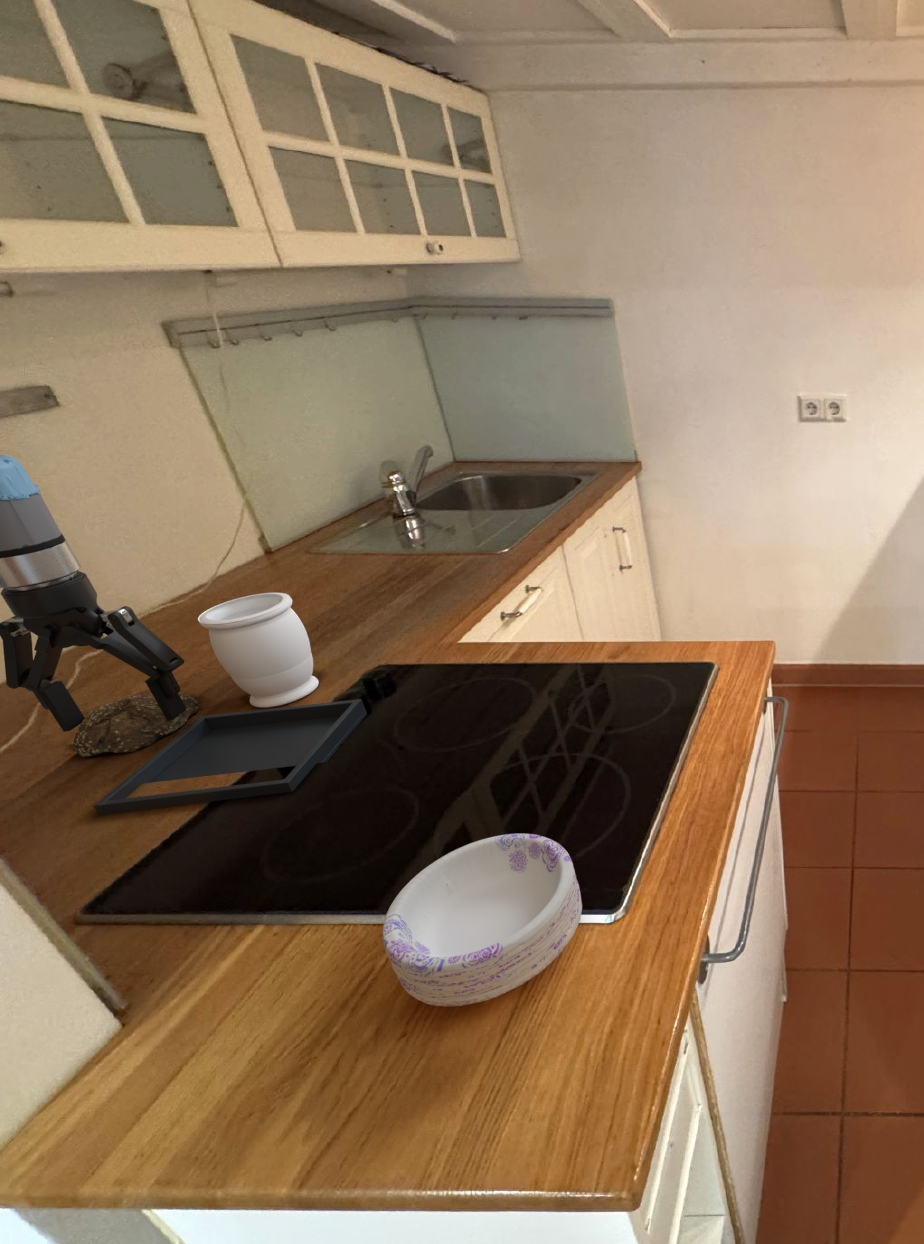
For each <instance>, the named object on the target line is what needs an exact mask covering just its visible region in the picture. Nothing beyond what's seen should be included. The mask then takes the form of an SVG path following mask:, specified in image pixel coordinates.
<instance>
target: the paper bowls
mask: <svg viewBox="0 0 924 1244" xmlns="http://www.w3.org/2000/svg"><path fill="white" fill-rule="evenodd" d="M582 911H583V901H582V895H581V890H580V884H579V881H578V879H577V874H576V871H575V867H574V863H573V861H572V858H571V856H570V854H569V853H568V851H567V850H566V848H564V847H563V845H561V844H560V843H559V842H557V841H555V840H553V839H552V838H548V837H546V836H543V835H540V834H535V833H506V834H502V835H501V834H500V835H495V836H491V837H486V838H482V839H479V840H476V841H473V842H470V843H468V844H465V845H463V846H461V847H458V848H456V849H454V850H453V851H449V852H448V853H447V854H445V855H443V856H441V857H440V858H438V859H436V860H435V861H433V862H432V863H431V864H429V865H427V866H426V867H425V868H423V869H422V870H420V872H419V873H417V874H416V875H415V876H414V877H413V878H411V879H410V880H409V882H408V883H407V884H406V885H404V887H403V888H402V889H401V890H400V891H399V893H397V895H396V897H395V898H394V900H393V901H392V903H391V904H390V906H389V908H388V910H387V912H386V914H385V917H384V921H383V925H382V945H383V949H384V951H385V953H386V955H387V958H388V959H389V961H390V965H391V968H392V970H393V971H394V973H395V975H396V978H397V980H398V981H399V984H400V985H401V986H402V987H403V989H404V990H405V991H406V993H408V994H409V995H410V996H411V997H413V998H414V999H416V1000H417V1001H420V1002H421V1003H425V1004H427V1005H431V1006H436V1007H438V1006H439V1007H461V1006H467V1005H471V1004H477V1003H481V1002H484V1001H489V1000H492V999H494V998H497V997H500V996H501V995H504V994H507V992H510V991H512V990H515V989H516V988H519V987H520V986H522V985H524V984H525V983H527V982H528V981H530V980H531V979H533V978H535V977H536V976H538V975H539V974H540V973H541V972H543V970H545V969H546V968H547V967H548V966H549V965H550V964H552V963H553V962H554V960H555V959H557V957H559V955H560V954H561V953H562V952H563V951H564V949H565V948H566V947H567V946H568V944H569V942H570V941H571V940H572V938H573V937H574V935H575V932H576V930H577V928H578V927H579V924H580V922H581V918H582Z"/></svg>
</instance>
